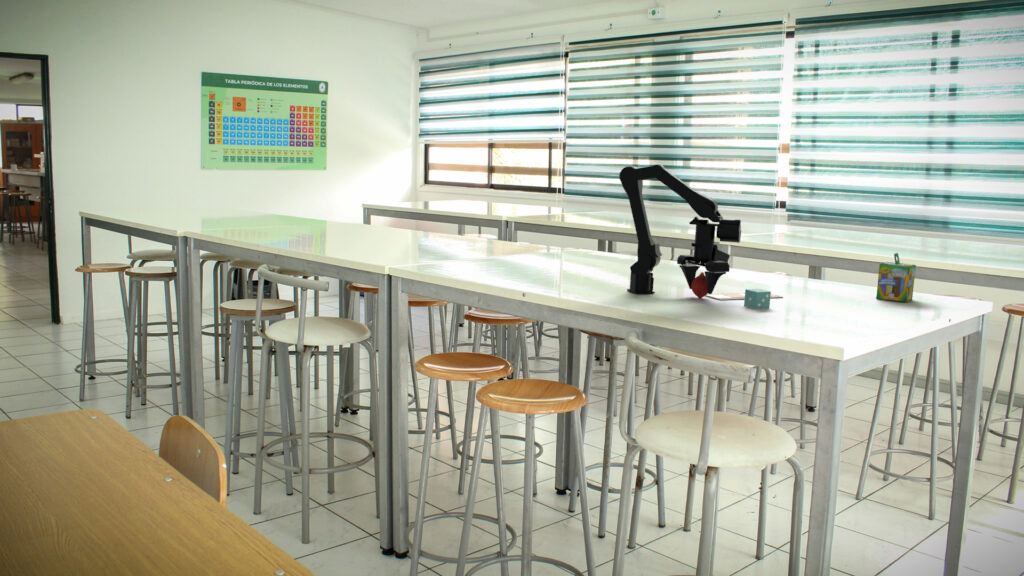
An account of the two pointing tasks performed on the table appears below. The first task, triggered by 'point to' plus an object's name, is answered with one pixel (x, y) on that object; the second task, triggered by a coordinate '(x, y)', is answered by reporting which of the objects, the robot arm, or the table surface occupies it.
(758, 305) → the die
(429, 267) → the table surface
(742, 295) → the board
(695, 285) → the onion
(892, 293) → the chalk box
